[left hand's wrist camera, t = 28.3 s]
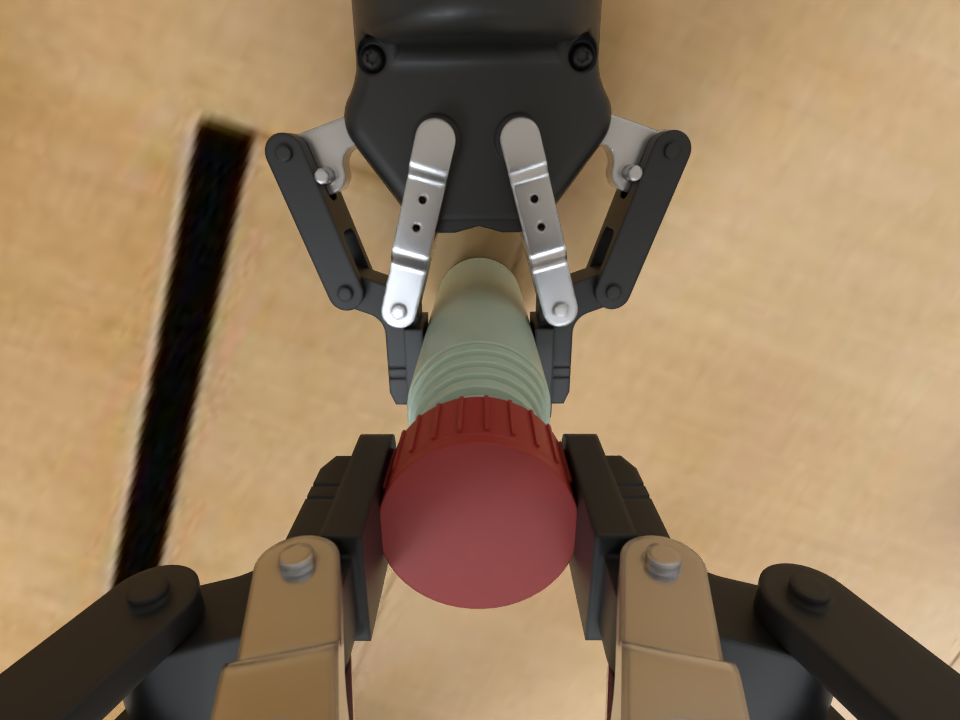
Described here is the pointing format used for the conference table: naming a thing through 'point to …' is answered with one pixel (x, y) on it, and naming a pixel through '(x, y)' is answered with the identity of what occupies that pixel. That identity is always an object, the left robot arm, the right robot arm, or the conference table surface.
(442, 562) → the cap
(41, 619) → the conference table surface
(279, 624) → the left robot arm
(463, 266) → the bottle
